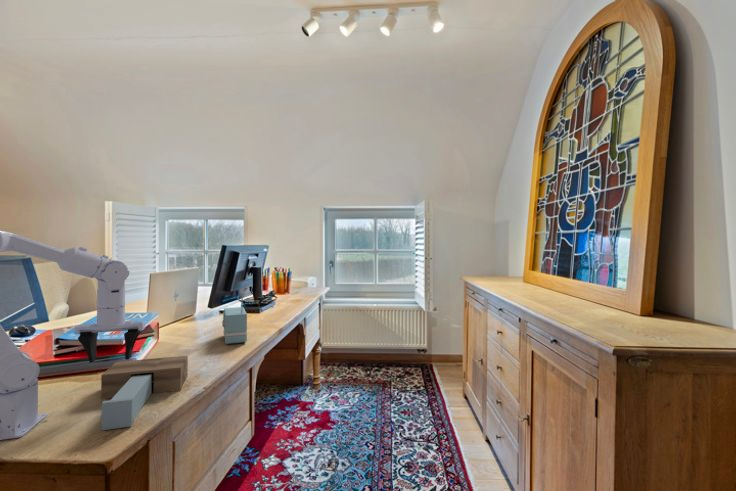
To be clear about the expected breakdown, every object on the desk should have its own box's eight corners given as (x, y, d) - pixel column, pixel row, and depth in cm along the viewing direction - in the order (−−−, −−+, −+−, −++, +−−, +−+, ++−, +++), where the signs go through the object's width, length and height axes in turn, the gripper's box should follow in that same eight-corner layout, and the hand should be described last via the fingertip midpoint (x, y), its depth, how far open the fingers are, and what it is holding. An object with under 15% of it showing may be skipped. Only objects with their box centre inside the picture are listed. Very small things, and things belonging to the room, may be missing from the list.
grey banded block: (221, 336, 145) (221, 289, 145) (243, 333, 149) (243, 288, 149) (222, 346, 131) (222, 295, 130) (246, 343, 134) (247, 293, 134)
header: (180, 390, 92) (180, 367, 92) (101, 399, 86) (101, 374, 86) (187, 376, 101) (187, 355, 101) (116, 383, 96) (116, 361, 96)
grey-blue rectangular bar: (131, 426, 73) (131, 399, 73) (101, 430, 72) (101, 403, 72) (153, 392, 90) (153, 371, 89) (129, 395, 88) (129, 373, 88)
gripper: (148, 302, 93) (148, 352, 93) (84, 305, 88) (83, 357, 88) (140, 307, 86) (139, 360, 86) (70, 310, 81) (69, 366, 81)
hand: (110, 359), depth 87 cm, fingers open, 7 cm apart
